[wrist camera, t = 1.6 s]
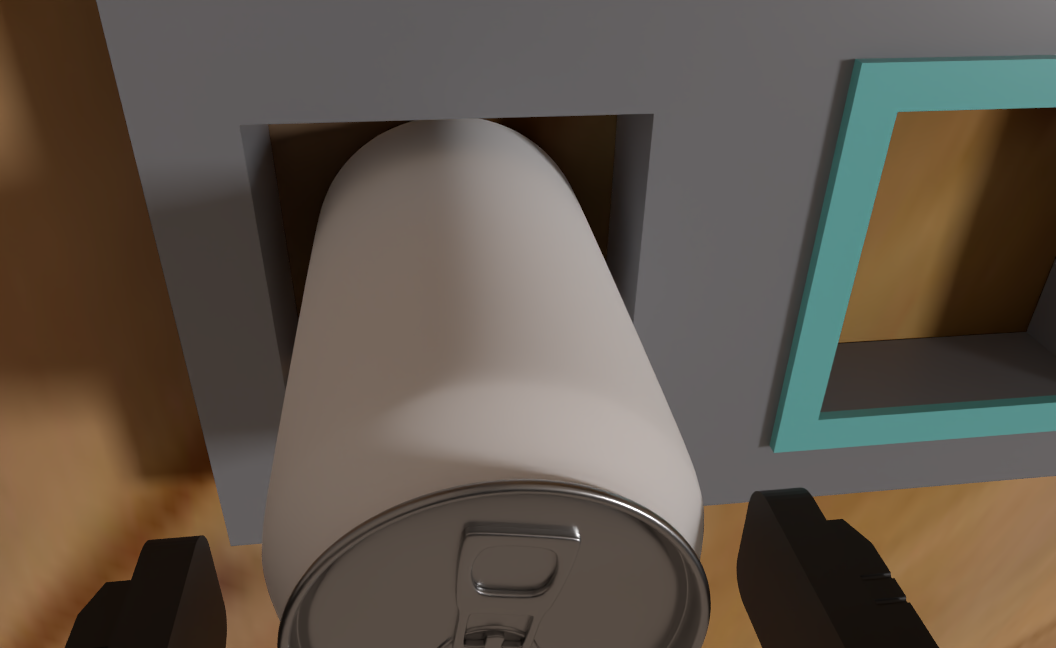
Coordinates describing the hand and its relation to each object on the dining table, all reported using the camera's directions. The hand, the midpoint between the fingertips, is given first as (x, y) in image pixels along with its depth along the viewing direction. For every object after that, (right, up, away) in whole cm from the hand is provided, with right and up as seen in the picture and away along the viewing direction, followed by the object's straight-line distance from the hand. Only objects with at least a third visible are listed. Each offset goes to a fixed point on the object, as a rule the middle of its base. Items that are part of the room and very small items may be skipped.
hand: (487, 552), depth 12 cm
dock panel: (+5, +6, +9) cm, 12 cm away
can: (-1, +6, +9) cm, 10 cm away
